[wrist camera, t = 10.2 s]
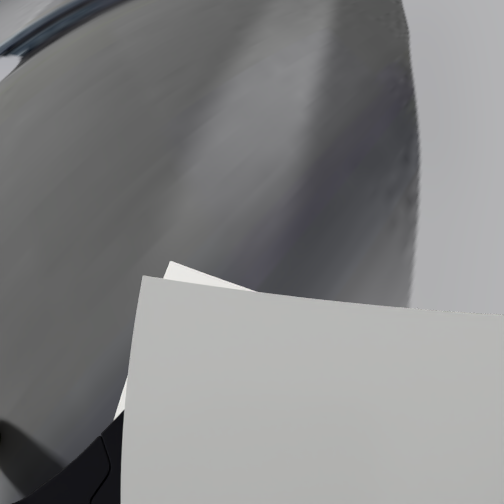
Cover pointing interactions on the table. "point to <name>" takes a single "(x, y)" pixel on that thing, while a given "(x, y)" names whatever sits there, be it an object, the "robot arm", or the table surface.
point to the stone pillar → (309, 401)
